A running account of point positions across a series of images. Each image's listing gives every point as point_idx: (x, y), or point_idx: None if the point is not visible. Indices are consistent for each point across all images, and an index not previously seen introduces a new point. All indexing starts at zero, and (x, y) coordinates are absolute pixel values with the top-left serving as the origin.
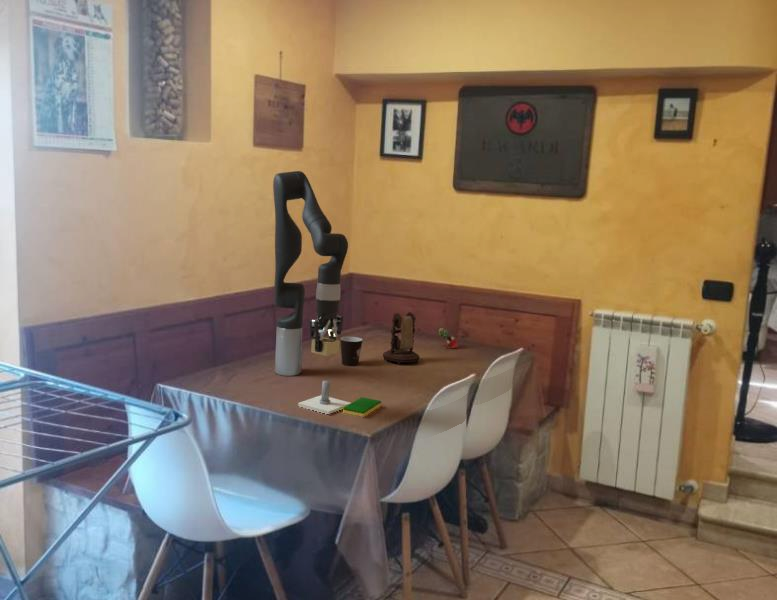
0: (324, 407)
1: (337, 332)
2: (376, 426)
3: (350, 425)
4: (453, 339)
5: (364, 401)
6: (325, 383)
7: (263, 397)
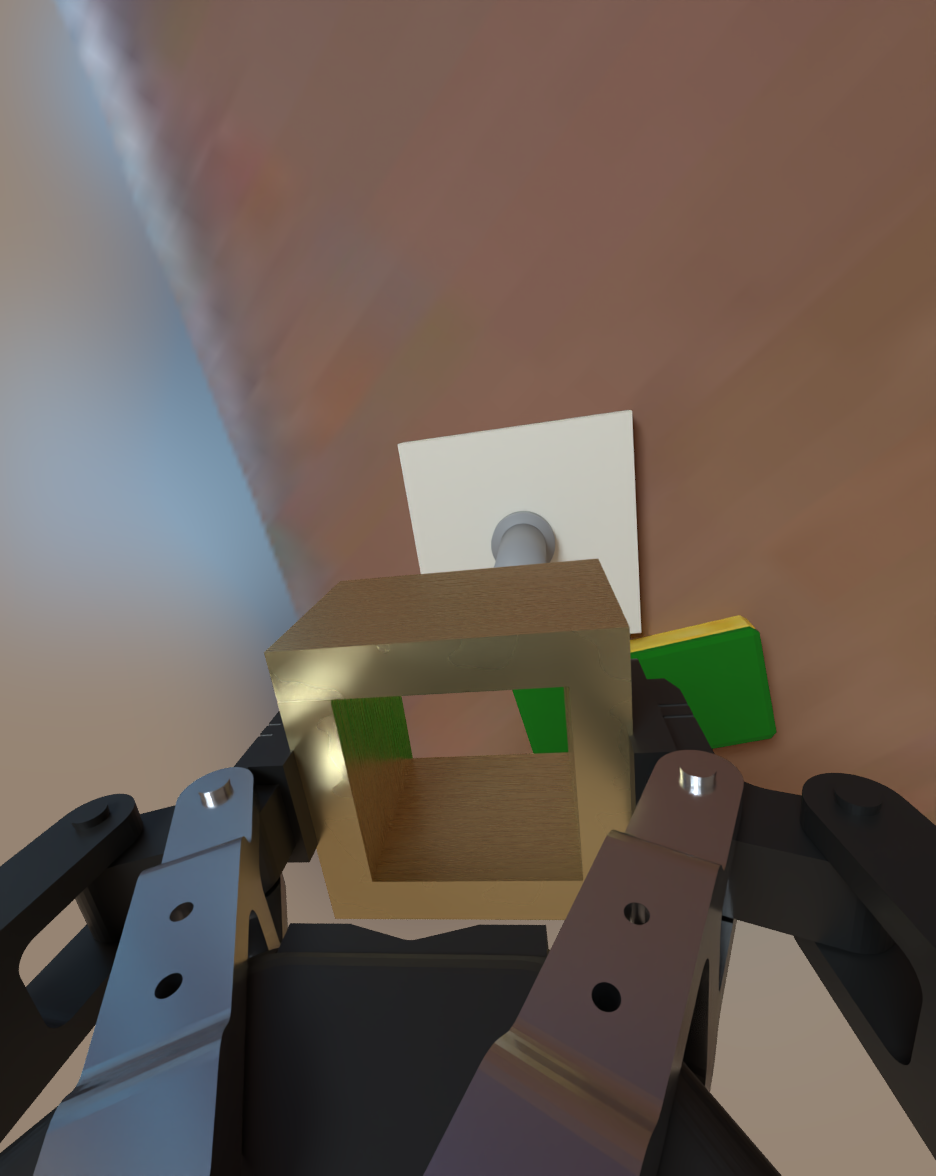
0: None
1: (796, 923)
2: None
3: None
4: None
5: (689, 691)
6: None
7: (338, 135)
